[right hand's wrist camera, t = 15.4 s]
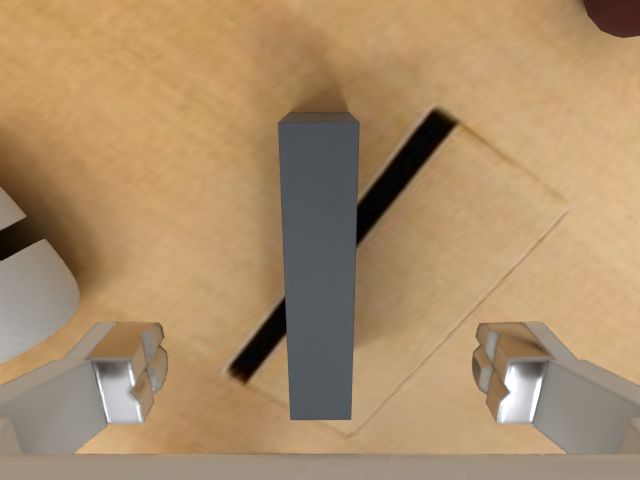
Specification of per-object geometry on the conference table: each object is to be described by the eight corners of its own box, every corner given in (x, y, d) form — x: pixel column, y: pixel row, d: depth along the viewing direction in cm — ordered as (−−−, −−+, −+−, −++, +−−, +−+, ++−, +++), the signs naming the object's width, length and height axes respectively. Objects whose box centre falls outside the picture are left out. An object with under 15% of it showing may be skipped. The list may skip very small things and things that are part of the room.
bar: (288, 112, 32) (277, 122, 24) (349, 112, 32) (359, 121, 24) (296, 354, 41) (290, 420, 33) (344, 353, 41) (351, 420, 33)
